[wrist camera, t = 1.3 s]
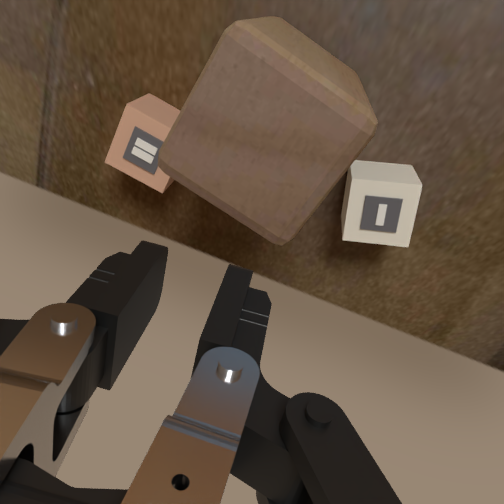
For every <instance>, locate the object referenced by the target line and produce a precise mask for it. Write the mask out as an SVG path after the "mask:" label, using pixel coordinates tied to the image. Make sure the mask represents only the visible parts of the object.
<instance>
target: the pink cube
mask: <svg viewBox="0 0 504 504" xmlns="http://www.w3.org/2000/svg"><path fill="white" fill-rule="evenodd" d="M179 113H180V110H178V109H176V108H175V107H173V106H171V105H169V104H168V103H166V102H164V101H162V100H161V99H159V98H157V97H155V96H153V95H152V94H150V93H149V94H147V95H145V96H142V97H140V98H138V99H136V100H134V101H132V102H130V103H128V104H127V105H126V107H125V110H124V112H123V115H122V118H121V120H120V123H119V126H118V128H117V131H116V134H115V136H114V139H113V142H112V144H111V147H110V149H109V152H108V155H107V157H106V160H105V163H107V164H109V165H111V166H113V167H115V168H116V169H118V170H120V171H122V172H124V173H126V174H127V175H129V176H131V177H133V178H135V179H137V180H139V181H140V182H142V183H144V184H146V185H148V186H150V187H151V188H153V189H155V190H157V191H159V192H161V193H163V192H164V191H165V190H166V189H167V188H168V187H169V186H170V185H171V183H172V182H173V181H174V179H173V178H171V177H170V176H168V175H166V174H165V173H164V172H163V171H162V170H161V169H160V168H159V166H158V154H159V150H160V148H161V146H162V144H163V142H164V141H165V139H166V137H167V135H168V133H169V131H170V130H171V128H172V126H173V124H174V122H175V120H176V119H177V117H178V115H179Z"/></svg>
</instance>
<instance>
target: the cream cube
mask: <svg viewBox="0 0 504 504" xmlns="http://www.w3.org/2000/svg"><path fill="white" fill-rule="evenodd" d="M421 190H422V183H421V181H420V180H419V178H418V176H417V174H416V172H415V170H414V168H413V166H412V165H404V164H393V163H381V162H370V161H359V160H355V161H354V162H353V163H352V165H351V166H350V167H349V168H348V173H347V180H346V186H345V193H344V200H343V206H342V213H341V223H342V240H345V241H354V242H364V243H373V244H382V245H392V246H401V247H409V242H410V238H411V233H412V229H413V225H414V220H415V216H416V211H417V207H418V203H419V198H420V194H421Z"/></svg>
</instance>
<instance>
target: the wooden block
mask: <svg viewBox="0 0 504 504" xmlns="http://www.w3.org/2000/svg"><path fill="white" fill-rule="evenodd" d="M377 124H378V121H377V119H376V116H375V114H374V111H373V109H372V107H371V104H370V102H369V100H368V97H367V95H366V93H365V90H364V88H363V86H362V83H361V81H360V79H359V77H358V75H357V74H356V72H355V71H353V70H352V69H351V68H349V67H348V66H347V65H345V64H344V63H342V62H341V61H340V60H338V59H337V58H336V57H334V56H333V55H331V54H330V53H329V52H327V51H326V50H325V49H323V48H322V47H320V46H319V45H318V44H316V43H315V42H314V41H312V40H311V39H309V38H308V37H307V36H305V35H304V34H303V33H301V32H300V31H298V30H297V29H296V28H294V27H293V26H292V25H290V24H289V23H287V22H286V21H285V20H283V19H282V18H279V17H274V16H269V17H262V18H254V19H247V20H239V21H235V22H234V23H233V24H232V25H230V26H229V27H228V28H227V29H225V30H224V32H223V34H222V36H221V38H220V40H219V41H218V43H217V45H216V47H215V49H214V51H213V52H212V54H211V56H210V58H209V60H208V62H207V64H206V65H205V67H204V69H203V71H202V73H201V75H200V76H199V78H198V80H197V82H196V84H195V86H194V87H193V89H192V91H191V93H190V95H189V97H188V98H187V100H186V102H185V104H184V106H183V108H182V109H181V111H180V113H179V115H178V117H177V119H176V120H175V122H174V124H173V126H172V128H171V130H170V131H169V133H168V135H167V137H166V139H165V141H164V142H163V144H162V146H161V148H160V150H159V154H158V166H159V168H160V169H161V170H162V171H163V172H164V173H165V174H166V175H168V176H170V177H171V178H173V179H174V180H176V181H177V182H179V183H180V184H182V185H183V186H185V187H187V188H188V189H190V190H191V191H193V192H194V193H196V194H197V195H199V196H200V197H202V198H204V199H205V200H207V201H208V202H210V203H211V204H213V205H214V206H216V207H217V208H219V209H221V210H222V211H224V212H225V213H227V214H228V215H230V216H231V217H233V218H234V219H236V220H238V221H239V222H241V223H242V224H244V225H245V226H247V227H248V228H250V229H252V230H253V231H255V232H256V233H258V234H259V235H261V236H262V237H264V238H265V239H267V240H269V241H270V242H272V243H273V244H277V245H280V246H282V245H284V244H285V243H287V242H289V241H290V240H292V239H294V237H295V236H296V235H297V233H298V232H299V231H300V230H301V228H302V227H303V226H304V225H305V223H306V222H307V221H308V219H309V218H310V217H311V216H312V214H313V213H314V212H315V210H316V209H317V208H318V207H319V205H320V204H321V203H322V202H323V200H324V199H325V198H326V196H327V195H328V194H329V193H330V191H331V190H332V189H333V188H334V186H335V185H336V184H337V182H338V181H339V180H340V179H341V177H342V176H343V175H344V174H345V172H346V171H347V170H348V168H349V167H350V166H351V165H352V163H353V162H354V161H355V160H356V158H357V157H358V156H359V154H360V153H361V152H362V151H363V149H364V148H365V147H366V145H367V144H368V143H369V142H370V140H371V139H372V138H373V137H374V134H375V131H376V128H377Z"/></svg>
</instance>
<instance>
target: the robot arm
mask: <svg viewBox="0 0 504 504" xmlns="http://www.w3.org/2000/svg"><path fill="white" fill-rule="evenodd" d="M167 256H168V248H167V247H165V246H161V245H158V244H154V243H150V242H147V241H141V242H140V243H139V245H138V246H137V247H136V248H135V250H134V251H133V252H132V254H131V255H130V254H127V253H123V252H118V253H116V254H114V255H112V256H109V257H107V258H105V259H104V260H103V261H102V263H101V264H100V265H99V266H98V267H97V269H96V270H95V271H94V272H93V273H92V274H91V275H90V277H89V278H87V279H86V280H85V282H84V283H83V284H82V285H81V286H80V287H79V288H78V289H77V291H76V292H75V293H74V294H73V295H72V296H71V297H70V298H69V299H68V301H67V302H66V303H57V304H52V305H48V306H46V307H43V308H42V309H40V310H38V311H37V312H36V313H35V314H34V315H33V316H32V318H31V319H30V320H12V319H0V504H220V503H221V499H222V496H223V493H224V489H225V486H226V483H227V480H228V477H229V474H230V473H231V474H232V475H234V476H235V477H237V478H238V479H240V480H241V481H243V482H244V483H246V484H247V485H249V486H251V487H252V488H254V489H255V490H256V496H257V501H258V504H402V503H401V502H400V500H399V498H398V497H397V495H396V494H395V492H394V491H393V489H392V487H391V486H390V484H389V482H388V481H387V479H386V478H385V476H384V474H383V473H382V471H381V470H380V468H379V467H378V465H377V463H376V462H375V460H374V459H373V457H372V456H371V454H370V452H369V451H368V449H367V448H366V446H365V445H364V443H363V442H362V440H361V438H360V437H359V435H358V433H357V432H356V430H355V429H354V427H353V426H352V424H351V422H350V421H349V419H348V418H347V416H346V415H345V413H344V412H343V410H342V409H341V408H340V407H339V406H338V405H337V404H336V403H335V402H333V401H332V400H330V399H329V398H327V397H325V396H322V395H320V394H316V393H309V392H307V393H300V394H297V395H295V396H293V397H292V398H291V399H290V398H288V397H287V396H285V395H283V394H281V393H280V392H278V391H277V390H275V389H274V388H272V387H271V386H270V385H269V384H268V383H267V382H266V380H265V379H264V377H263V375H262V373H261V370H260V360H261V355H262V350H263V345H264V339H265V335H266V329H267V324H268V319H269V314H270V309H271V302H270V299H269V297H268V295H267V292H265V291H261V290H257V289H253V288H250V287H249V285H250V281H251V278H252V274H253V270H249V269H245V268H242V267H238V266H234V265H231V264H229V266H228V269H227V271H226V273H225V276H224V278H223V281H222V284H221V286H220V289H219V291H218V294H217V296H216V299H215V301H214V304H213V306H212V309H211V312H210V314H209V317H208V319H207V322H206V324H205V327H204V329H203V332H202V334H201V337H200V340H199V344H198V349H197V353H196V358H195V363H194V367H193V371H192V376H191V380H190V382H189V384H188V386H187V388H186V390H185V392H184V394H183V396H182V398H181V400H180V402H179V404H178V406H177V408H176V410H175V412H174V414H173V416H170V415H168V416H167V417H166V418H165V419H164V421H163V423H162V425H161V427H160V429H159V431H158V433H157V435H156V436H155V438H154V441H153V443H152V444H151V446H150V448H149V450H148V452H147V454H146V456H145V458H144V460H143V462H142V464H141V466H140V468H139V469H138V471H137V473H136V476H135V477H134V479H133V481H132V483H131V485H130V487H129V489H128V490H120V489H90V488H74V487H71V486H69V485H67V484H65V483H64V482H62V481H61V480H59V479H57V478H56V474H57V472H58V470H59V468H60V466H61V464H62V462H63V460H64V458H65V455H66V454H67V451H68V449H69V447H70V445H71V443H72V441H73V439H74V437H75V435H76V433H77V431H78V429H79V427H80V425H81V423H82V421H83V419H84V417H85V415H86V413H87V410H88V407H89V399H90V397H91V396H92V394H93V392H94V391H95V389H96V388H97V387H100V388H103V389H107V390H110V389H111V388H112V386H113V384H114V382H115V381H116V379H117V377H118V375H119V374H120V372H121V370H122V368H123V366H124V365H125V363H126V361H127V360H128V358H129V356H130V355H131V353H132V351H133V349H134V347H135V346H136V344H137V342H138V340H139V339H140V337H141V335H142V334H143V332H144V330H145V328H146V327H147V325H148V323H149V322H150V320H151V318H152V316H153V315H154V313H155V311H156V309H157V306H158V303H159V300H160V297H161V292H162V287H163V280H164V274H165V268H166V262H167Z"/></svg>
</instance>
